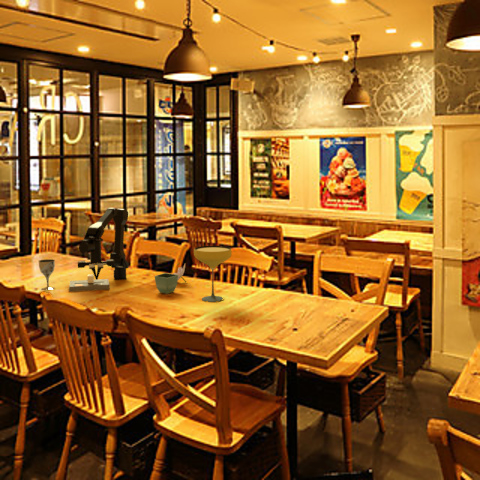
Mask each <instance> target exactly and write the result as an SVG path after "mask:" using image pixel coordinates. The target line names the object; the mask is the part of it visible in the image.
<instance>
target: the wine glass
mask: <svg viewBox="0 0 480 480" xmlns="http://www.w3.org/2000/svg"><path fill="white" fill-rule="evenodd" d="M55 263H56V261H55V259H52V258H51V259H50V258H48V259H47V258H46V259H41V260H40V259H39V260H38V268H39V271H40V273H41V274H42V275H43V276H44V277H45V280H46V286H45V287H42V288H40V290H41V291H52V290H55V289H56V288H55V287H53V286H50V284H49V283H50V279H49V278H50V276H52V274H53V273H54V271H55V267H56V264H55Z"/></svg>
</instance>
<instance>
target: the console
mask: <svg viewBox="0 0 480 480" xmlns="http://www.w3.org/2000/svg"><path fill="white" fill-rule="evenodd" d="M68 286H69V287H68V290H69V293H70V292H87V291H104V290H110V280H109V278H104V279H103V278H102V279H100V278H98V279H97V280H96V279H94V283H88V279H81V280H69V285H68Z"/></svg>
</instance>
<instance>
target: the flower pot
mask: <svg viewBox="0 0 480 480" xmlns="http://www.w3.org/2000/svg"><path fill="white" fill-rule="evenodd" d="M154 281H155V286H156V288H157V291H158V292H159V293H161V294H167V295H168V294H171V293H174V291H175V290H176V288H177V287H178V286H177V285H178V282H179V280H178V275H175V274H173V273H168V272H163V273H159V274H156V275H154Z"/></svg>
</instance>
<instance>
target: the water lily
mask: <svg viewBox="0 0 480 480" xmlns="http://www.w3.org/2000/svg"><path fill="white" fill-rule="evenodd" d="M185 268H186V264H184V265H183V266H181V267H178V269H177V272H174V273H172V274H175V275H178V281H179V280H180V279H182V280H183V281H184V283H186V282H187V280H185V278H184V277H183V275H184V273H185Z"/></svg>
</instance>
